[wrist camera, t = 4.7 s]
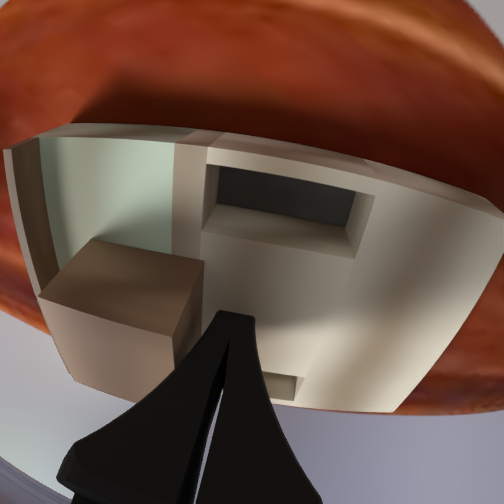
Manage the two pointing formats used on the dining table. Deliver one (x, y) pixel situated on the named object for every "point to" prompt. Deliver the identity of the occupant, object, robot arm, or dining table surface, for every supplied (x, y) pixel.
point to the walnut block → (124, 316)
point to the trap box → (273, 245)
